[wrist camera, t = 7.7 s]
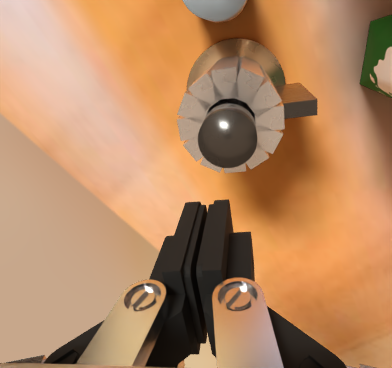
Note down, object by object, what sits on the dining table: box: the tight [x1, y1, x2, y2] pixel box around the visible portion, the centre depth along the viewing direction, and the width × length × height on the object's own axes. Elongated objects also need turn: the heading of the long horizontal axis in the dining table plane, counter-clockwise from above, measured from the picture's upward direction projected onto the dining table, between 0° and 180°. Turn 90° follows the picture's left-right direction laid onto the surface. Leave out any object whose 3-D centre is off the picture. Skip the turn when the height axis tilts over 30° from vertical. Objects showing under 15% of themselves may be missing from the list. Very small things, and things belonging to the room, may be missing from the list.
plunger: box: [198, 98, 257, 168], centre depth 31 cm, size 4×4×19 cm
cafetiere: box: [177, 38, 317, 173], centre depth 35 cm, size 14×13×17 cm
